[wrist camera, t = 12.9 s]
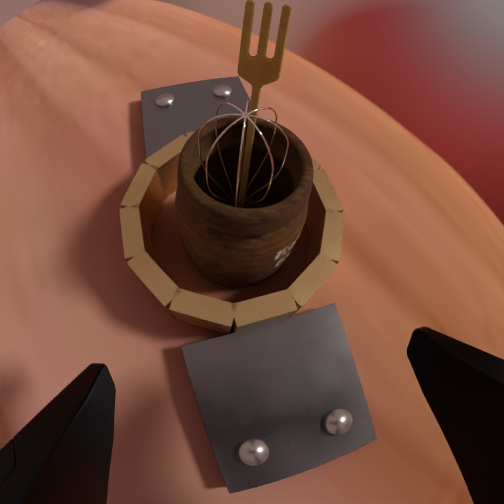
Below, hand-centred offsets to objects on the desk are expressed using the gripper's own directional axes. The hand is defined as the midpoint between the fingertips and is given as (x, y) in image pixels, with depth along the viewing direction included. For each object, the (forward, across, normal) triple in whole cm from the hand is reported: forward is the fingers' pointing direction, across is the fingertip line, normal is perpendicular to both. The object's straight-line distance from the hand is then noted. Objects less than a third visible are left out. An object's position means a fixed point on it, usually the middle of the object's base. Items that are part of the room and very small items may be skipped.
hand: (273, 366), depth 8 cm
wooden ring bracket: (+10, 0, 0) cm, 11 cm away
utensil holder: (+10, 0, 0) cm, 11 cm away
